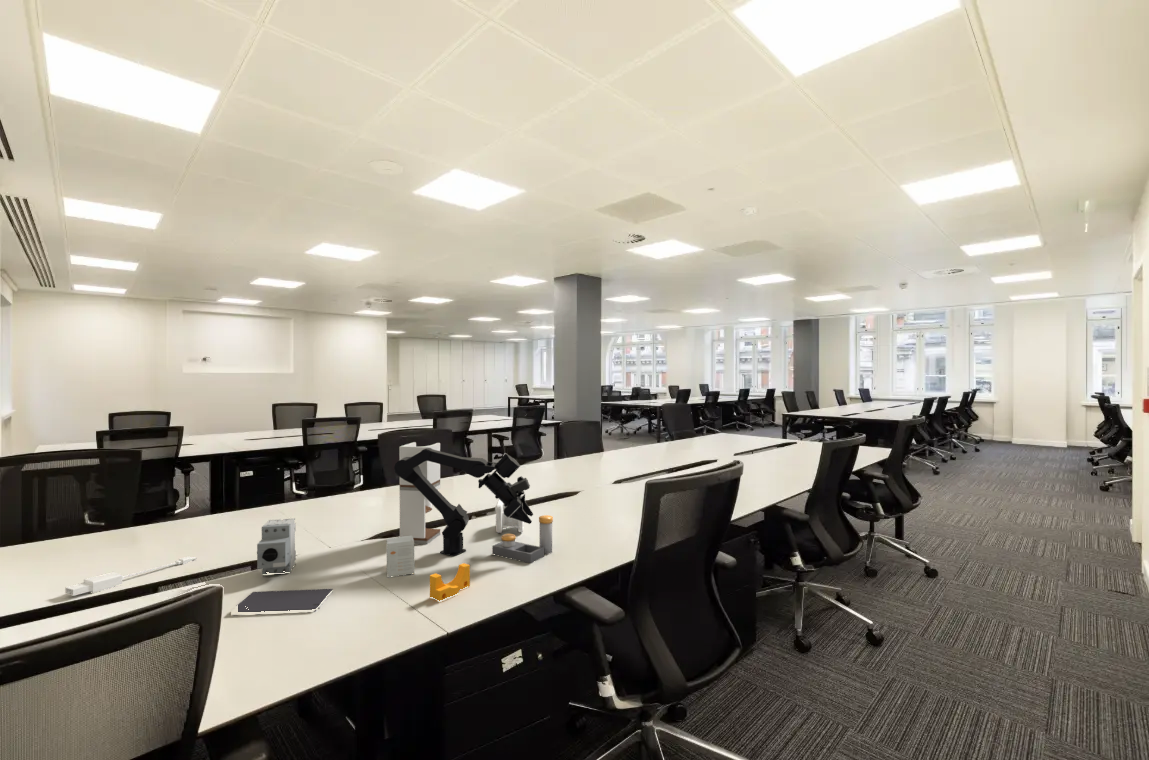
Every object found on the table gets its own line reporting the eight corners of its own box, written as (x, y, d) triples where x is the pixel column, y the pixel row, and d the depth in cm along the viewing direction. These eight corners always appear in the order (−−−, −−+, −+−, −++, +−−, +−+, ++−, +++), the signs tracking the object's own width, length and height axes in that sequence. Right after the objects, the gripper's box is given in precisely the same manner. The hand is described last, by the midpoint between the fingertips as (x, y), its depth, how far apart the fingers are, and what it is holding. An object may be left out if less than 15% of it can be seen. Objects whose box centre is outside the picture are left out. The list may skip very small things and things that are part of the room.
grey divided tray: (530, 563, 172) (530, 545, 171) (492, 554, 180) (492, 537, 180) (543, 556, 178) (543, 538, 178) (506, 548, 186) (506, 531, 186)
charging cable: (199, 564, 173) (199, 554, 173) (73, 599, 144) (74, 586, 144) (190, 562, 175) (190, 551, 175) (64, 595, 146) (64, 583, 146)
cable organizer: (522, 535, 201) (522, 505, 201) (494, 535, 200) (494, 505, 200) (524, 524, 216) (524, 495, 215) (498, 524, 215) (498, 495, 215)
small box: (413, 568, 167) (413, 535, 167) (414, 574, 162) (414, 540, 162) (386, 571, 165) (386, 537, 164) (387, 578, 159) (386, 543, 159)
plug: (547, 555, 179) (547, 519, 179) (536, 552, 182) (536, 517, 182) (555, 550, 184) (555, 516, 183) (543, 548, 186) (544, 514, 186)
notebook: (332, 593, 149) (252, 597, 147) (332, 588, 149) (252, 591, 147) (315, 614, 137) (228, 618, 134) (315, 608, 137) (228, 612, 134)
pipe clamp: (439, 603, 143) (439, 579, 143) (429, 598, 145) (429, 575, 145) (473, 588, 152) (473, 566, 152) (463, 585, 155) (464, 563, 155)
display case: (427, 544, 190) (427, 447, 190) (399, 542, 192) (399, 446, 191) (440, 534, 202) (440, 443, 201) (414, 533, 203) (413, 442, 203)
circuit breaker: (255, 584, 154) (255, 533, 154) (269, 566, 168) (269, 519, 168) (284, 581, 156) (283, 531, 156) (295, 564, 170) (295, 518, 170)
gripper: (513, 476, 173) (547, 509, 173) (518, 465, 191) (548, 496, 192) (489, 500, 173) (523, 533, 173) (496, 487, 191) (527, 517, 192)
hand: (531, 519), depth 182 cm, fingers open, 9 cm apart
